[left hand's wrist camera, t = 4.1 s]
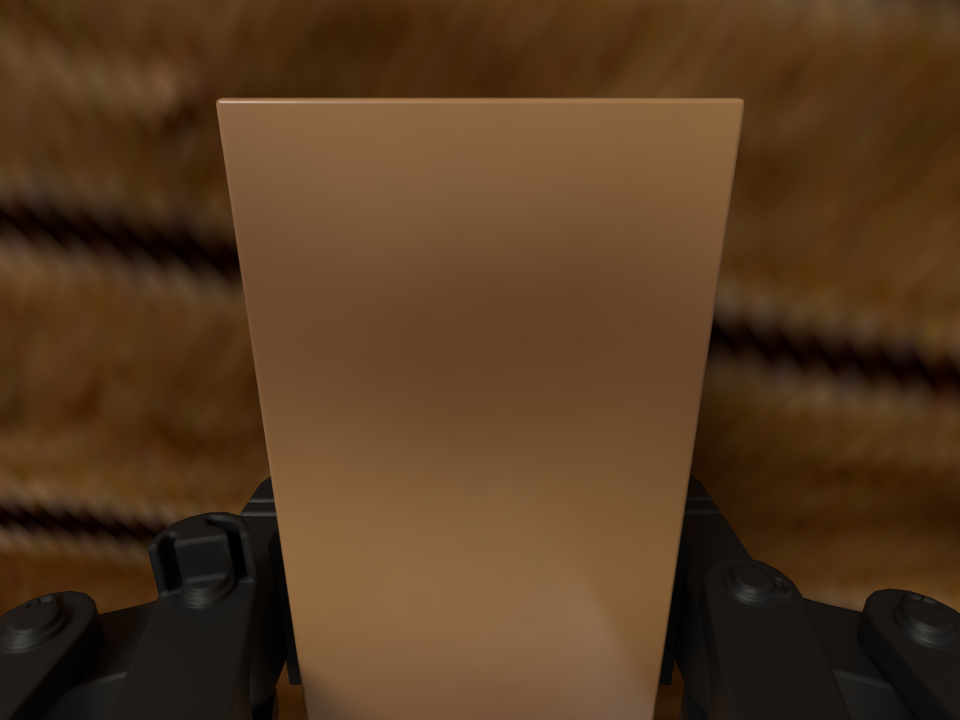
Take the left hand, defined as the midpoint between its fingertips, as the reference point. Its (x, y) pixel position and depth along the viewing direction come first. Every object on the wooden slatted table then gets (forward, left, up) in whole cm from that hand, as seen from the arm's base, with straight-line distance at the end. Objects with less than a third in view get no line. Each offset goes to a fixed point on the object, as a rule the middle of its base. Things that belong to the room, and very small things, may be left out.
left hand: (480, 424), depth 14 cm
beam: (-3, +24, -1) cm, 24 cm away
